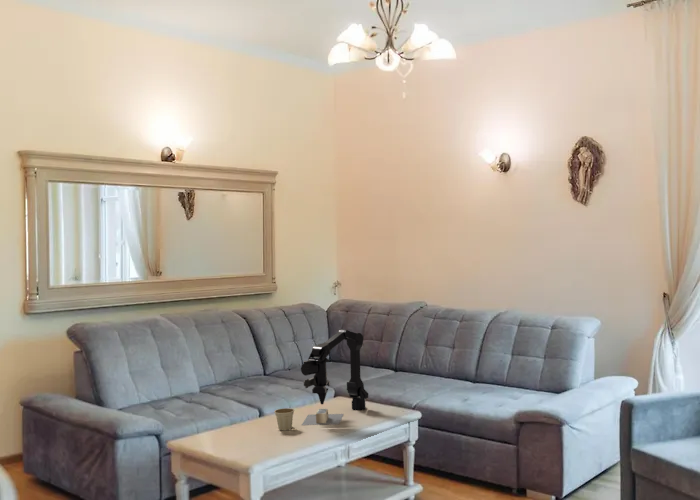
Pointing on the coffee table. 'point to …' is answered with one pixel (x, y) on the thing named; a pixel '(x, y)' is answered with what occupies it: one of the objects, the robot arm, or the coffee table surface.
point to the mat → (332, 420)
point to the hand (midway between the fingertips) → (322, 404)
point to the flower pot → (284, 418)
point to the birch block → (322, 416)
